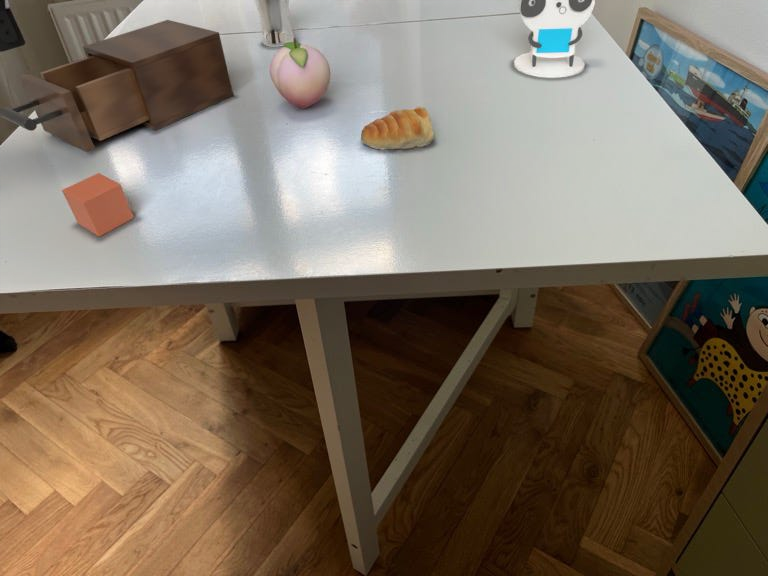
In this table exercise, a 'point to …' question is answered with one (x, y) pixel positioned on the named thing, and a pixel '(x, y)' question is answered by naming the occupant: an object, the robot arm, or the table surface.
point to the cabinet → (171, 68)
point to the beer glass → (275, 22)
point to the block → (98, 204)
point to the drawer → (81, 101)
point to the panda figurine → (553, 36)
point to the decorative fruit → (300, 73)
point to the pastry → (399, 130)
